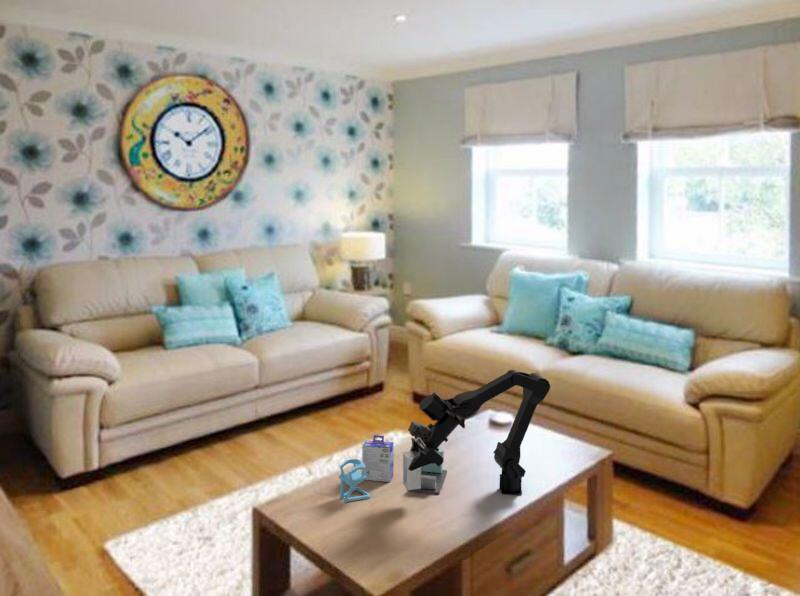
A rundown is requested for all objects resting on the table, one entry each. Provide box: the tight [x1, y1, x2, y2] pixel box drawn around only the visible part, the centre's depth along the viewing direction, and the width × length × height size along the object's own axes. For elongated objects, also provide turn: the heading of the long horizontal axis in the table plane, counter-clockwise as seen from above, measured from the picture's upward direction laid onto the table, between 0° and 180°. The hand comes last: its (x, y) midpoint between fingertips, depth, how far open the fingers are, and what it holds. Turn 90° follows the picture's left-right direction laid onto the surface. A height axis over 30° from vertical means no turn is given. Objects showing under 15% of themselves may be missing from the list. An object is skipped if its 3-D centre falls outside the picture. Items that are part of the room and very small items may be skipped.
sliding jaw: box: [421, 448, 445, 473], centre depth 226 cm, size 11×7×4 cm, turn 167°
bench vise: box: [408, 469, 448, 495], centre depth 216 cm, size 16×10×5 cm, turn 167°
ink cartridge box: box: [361, 434, 395, 483], centre depth 218 cm, size 10×6×14 cm, turn 79°
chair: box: [338, 458, 371, 503], centre depth 206 cm, size 8×8×12 cm
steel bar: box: [402, 450, 421, 491], centre depth 200 cm, size 4×4×10 cm
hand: (407, 466), depth 200 cm, fingers closed on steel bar, 4 cm apart
